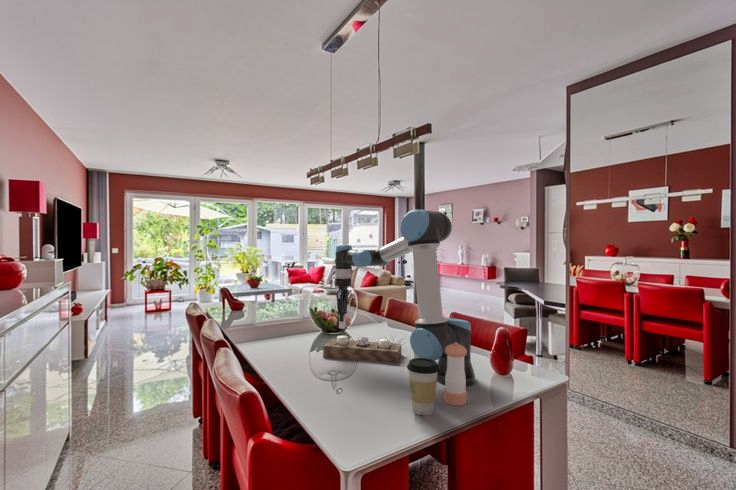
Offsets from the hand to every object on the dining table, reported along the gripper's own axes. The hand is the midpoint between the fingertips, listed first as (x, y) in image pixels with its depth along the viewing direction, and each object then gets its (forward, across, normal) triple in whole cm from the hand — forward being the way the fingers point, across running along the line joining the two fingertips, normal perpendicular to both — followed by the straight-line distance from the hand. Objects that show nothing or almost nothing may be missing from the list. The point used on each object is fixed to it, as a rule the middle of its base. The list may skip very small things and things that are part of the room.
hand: (342, 328), depth 168 cm
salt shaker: (+12, -39, -51) cm, 66 cm away
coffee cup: (+12, -49, -41) cm, 65 cm away
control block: (+12, 0, -10) cm, 16 cm away
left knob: (+9, 0, 0) cm, 9 cm away
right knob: (+9, 0, -20) cm, 22 cm away
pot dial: (+9, 0, -10) cm, 14 cm away
